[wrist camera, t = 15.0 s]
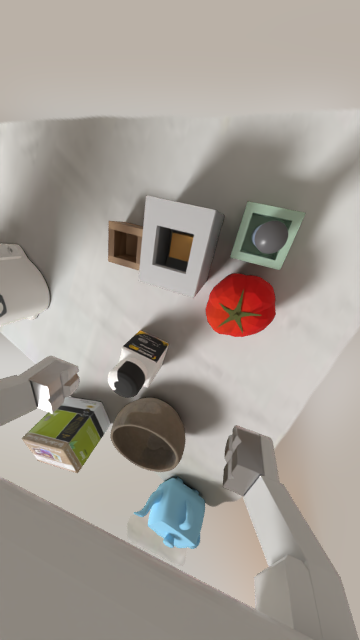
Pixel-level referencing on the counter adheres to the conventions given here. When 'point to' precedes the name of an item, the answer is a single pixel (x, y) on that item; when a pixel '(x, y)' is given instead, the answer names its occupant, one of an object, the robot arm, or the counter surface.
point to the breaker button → (181, 246)
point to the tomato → (241, 305)
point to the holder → (125, 244)
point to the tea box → (68, 433)
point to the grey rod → (270, 236)
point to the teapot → (175, 514)
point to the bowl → (149, 434)
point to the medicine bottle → (137, 364)
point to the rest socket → (256, 217)
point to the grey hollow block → (157, 241)
